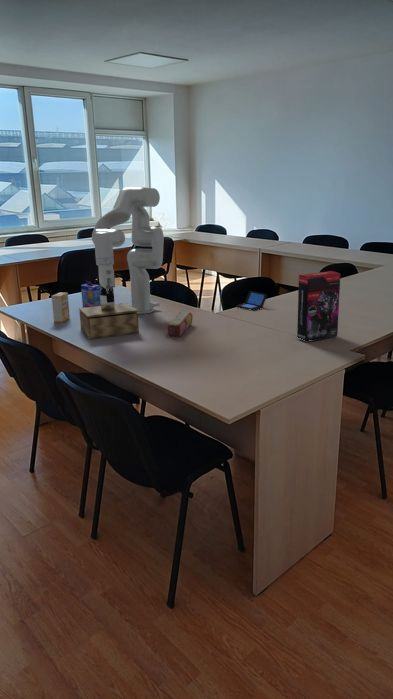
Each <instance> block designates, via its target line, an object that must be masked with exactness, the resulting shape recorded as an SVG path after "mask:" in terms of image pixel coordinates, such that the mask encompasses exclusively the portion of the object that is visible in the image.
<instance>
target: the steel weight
mask: <svg viewBox="0 0 393 699" xmlns="http://www.w3.org/2000/svg"><path fill="white" fill-rule="evenodd" d="M100 302H101V310H104V311H109V310H114V309H115V301H114V302H111V303H107V297H106V295H101V296H100Z"/></svg>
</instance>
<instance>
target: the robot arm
mask: <svg viewBox="0 0 393 699" xmlns="http://www.w3.org/2000/svg"><path fill="white" fill-rule="evenodd" d="M160 201H161V196H160V193H159V191H158V189H156V188H153V187H152V188H151V187H145V186H143V187H142V186H140V187H139V186H136V187H135V186H129V187H123V188H122V189H121V190H119V194H118V196H117V198H116V201H115V203H114V205H113V207H112V209H111V210H109V211H108V212H107V213H105V214H104V215H103V216H101V217H100V218H99V219H98V220H97V222H96V223H95V225H94V227H93V231H92V232H91V241H92V243H93V244H94V252H95V262H96V263H95V265H96V266H98V279H99V281H98V282H99V285H100V288H101V295H106V297H107V303H111V302H114V303H115V291H114V288H116V279H115V271H114V264H115V261H114V260H115V259H114V258H115V257H114V248H119V247H121V246H122V245H123V244H124V243H125V241H126V235H125V233H124V232H123V230H121V229H117V228H116V229H115V228H113V227H115V226H119V225H123V224H124V223H126V222H128V221H129V220H130V219H131V218H132V219H131V222H132V223H131V242H132V244H133V245H134V246H137V247H138V246H139V247H152V248H132V249H130V250H129V251H128V253H127V255H126V260H127V265H128V270H129V276H130V279H129V280H130V295H131V296H130V297H131V306H132V307H134V308H135V309H137V310H138V312H137V313H138V315H145V314H150V313H153V312H154V311H155V307H157V308H158V307H160V305H161V303H160V302H152V301H151V286H150V284H151V283H150V275H149V273H148V271H147V270H148V269H152V270H153V269H154V270H157V269H160V268H161V267H162V265H163V261H164V260H163V259H164V243H165V241H164V240H165V237H164V236H165V235H164V231H163V229H162V228H161V227H158V226H150V224H151V223H150V220H151V219H150V214H149V212H148V211H147V209H146V208H145V207H147V208H154V207H157V206H158V205H159V203H160ZM146 269H147V270H146Z"/></svg>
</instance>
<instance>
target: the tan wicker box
mask: <svg viewBox="0 0 393 699" xmlns="http://www.w3.org/2000/svg"><path fill="white" fill-rule="evenodd" d="M78 313H79V319H80V320H79V323H80V329H81V331H82V332H83V333H84V335H85V336H86V337H87V338H88V340H97V339H102V338H109V337H118V336H119V337H120V336H126V335H131V334H133V335H134V334H140V329H139V327H140V326H139V314H138V313H137V312H132V313H124V314H115V315H106V316H98V317H89V318H87V317H86V316H85V315H84V314H83V313H82V312H81V311H80V310H79V312H78Z"/></svg>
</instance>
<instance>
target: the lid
mask: <svg viewBox="0 0 393 699" xmlns="http://www.w3.org/2000/svg"><path fill="white" fill-rule="evenodd" d="M79 311H81V312H82V313H83V314H84V315H85V316H86V317H87V318H89V317H98V316H106V315H115V314H124V313H132V312H138V310H137V309H135V308H134V307H132V305H131V304H128V303H116V304H115V309H114V310H109V311H104V310H101V306H96V307H87V308H83V307H80V308H79Z"/></svg>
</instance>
